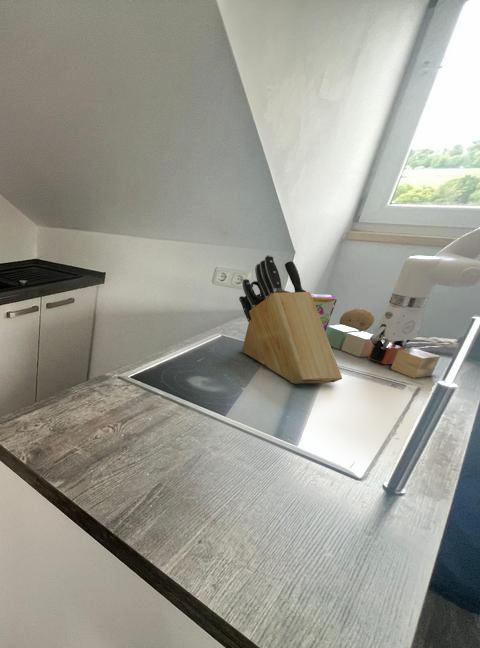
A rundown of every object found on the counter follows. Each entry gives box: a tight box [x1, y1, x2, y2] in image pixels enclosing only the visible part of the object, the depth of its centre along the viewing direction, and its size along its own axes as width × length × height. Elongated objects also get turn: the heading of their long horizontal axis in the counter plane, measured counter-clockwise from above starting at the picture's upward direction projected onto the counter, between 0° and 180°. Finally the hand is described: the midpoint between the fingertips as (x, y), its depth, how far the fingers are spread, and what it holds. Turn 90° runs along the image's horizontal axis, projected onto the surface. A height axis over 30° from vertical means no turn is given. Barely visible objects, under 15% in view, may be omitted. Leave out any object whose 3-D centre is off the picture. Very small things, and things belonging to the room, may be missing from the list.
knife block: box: [238, 254, 343, 385], centre depth 114 cm, size 11×35×31 cm, turn 2°
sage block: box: [325, 324, 360, 350], centre depth 130 cm, size 6×6×6 cm
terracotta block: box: [367, 341, 406, 365], centre depth 117 cm, size 5×5×5 cm
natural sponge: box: [339, 307, 375, 332], centre depth 137 cm, size 9×9×10 cm
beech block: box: [390, 347, 441, 379], centre depth 110 cm, size 6×6×6 cm
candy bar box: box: [311, 293, 338, 331], centre depth 131 cm, size 11×5×16 cm, turn 71°
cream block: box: [340, 331, 374, 358], centre depth 124 cm, size 6×6×6 cm
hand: (383, 358), depth 118 cm, fingers closed on terracotta block, 5 cm apart
